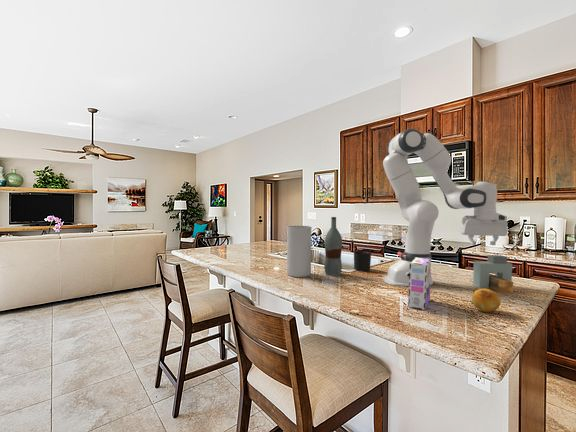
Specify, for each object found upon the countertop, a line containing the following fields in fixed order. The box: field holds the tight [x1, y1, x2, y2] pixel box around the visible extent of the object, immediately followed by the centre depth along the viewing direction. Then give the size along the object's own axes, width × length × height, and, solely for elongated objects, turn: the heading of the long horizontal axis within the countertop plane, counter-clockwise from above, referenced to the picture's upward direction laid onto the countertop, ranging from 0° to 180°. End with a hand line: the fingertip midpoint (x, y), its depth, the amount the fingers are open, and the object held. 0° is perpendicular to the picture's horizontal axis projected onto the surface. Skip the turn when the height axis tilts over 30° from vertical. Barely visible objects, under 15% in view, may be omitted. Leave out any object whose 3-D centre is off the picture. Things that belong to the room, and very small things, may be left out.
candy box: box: [407, 258, 432, 311], centre depth 112 cm, size 14×6×16 cm, turn 148°
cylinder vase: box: [286, 225, 312, 278], centre depth 155 cm, size 12×12×25 cm
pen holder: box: [353, 250, 372, 272], centre depth 168 cm, size 9×9×10 cm
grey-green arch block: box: [472, 254, 513, 289], centre depth 136 cm, size 14×5×14 cm, turn 90°
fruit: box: [471, 288, 501, 313], centre depth 105 cm, size 8×8×8 cm
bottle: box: [323, 216, 343, 277], centre depth 157 cm, size 9×9×30 cm
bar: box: [488, 273, 514, 295], centre depth 136 cm, size 4×20×5 cm, turn 0°
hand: (482, 244), depth 142 cm, fingers open, 8 cm apart
